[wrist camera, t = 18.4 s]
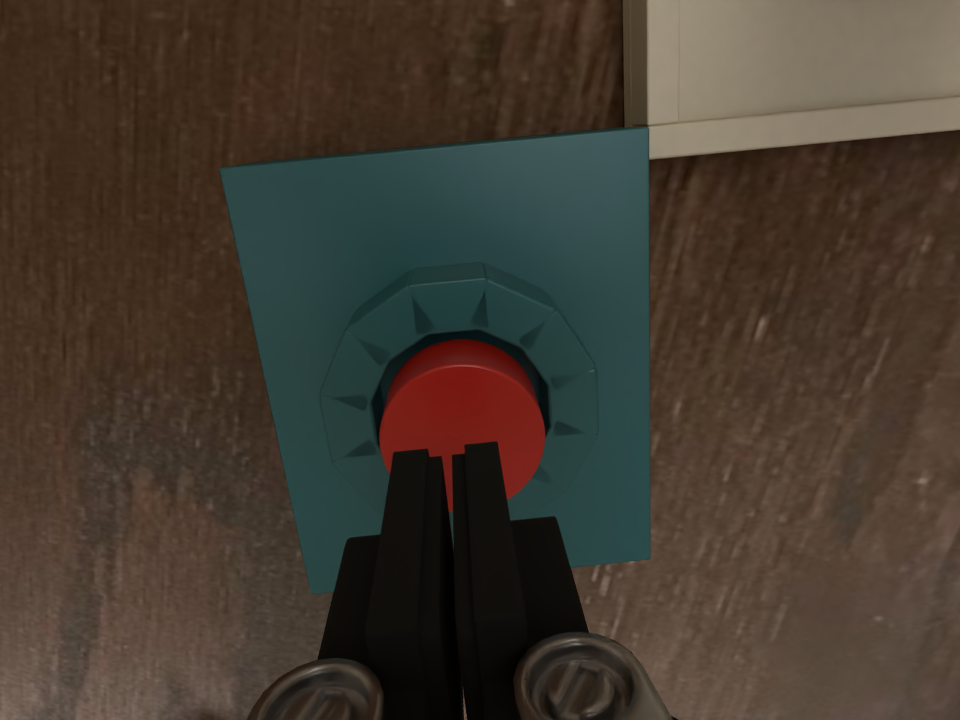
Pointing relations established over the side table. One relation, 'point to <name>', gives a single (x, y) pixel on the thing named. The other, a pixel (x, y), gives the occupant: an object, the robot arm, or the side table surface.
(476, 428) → the button
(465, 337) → the block
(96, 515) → the side table surface
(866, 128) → the tray
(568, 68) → the side table surface
